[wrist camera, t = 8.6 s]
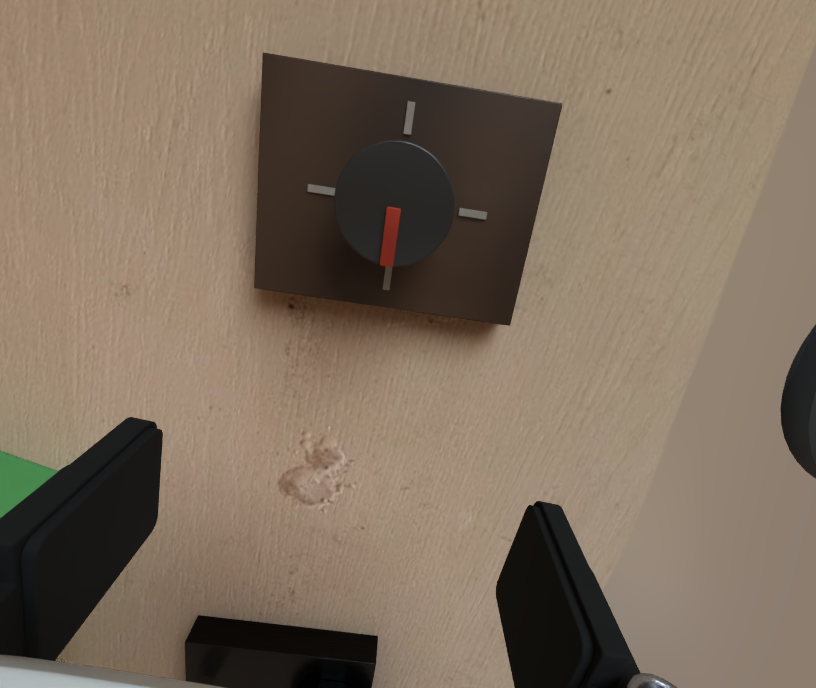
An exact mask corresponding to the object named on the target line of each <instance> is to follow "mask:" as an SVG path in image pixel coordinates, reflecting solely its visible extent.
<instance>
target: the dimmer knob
mask: <svg viewBox="0 0 816 688" xmlns="http://www.w3.org/2000/svg"><path fill="white" fill-rule="evenodd" d="M334 211H335V217H336V221H337V224H338V227H339V229H340V231H341V233H342V235H343V237H344V238H345V240H346V241H347V243H348V244H349V245H350V246H351V247H352V248H353V249H354V250H355V251H356V252H357V253H358V254H359V255H361V256H362V257H364V258H365V259H367V260H369V261H371V262H374V263H377V264H380V265H381V266H388V267H396V266H406V265H410V264H413V263H417V262H419V261H421V260H423V259H425V258H426V257H428V256H429V255H431V254H432V253H433V252H434V251H435V250H436V249H437V248H438V247H439V246H440V245H441V244H442V242H443V241H444V239H445V238H446V236H447V234H448V232H449V230H450V228H451V225H452V222H453V218H454V212H455V196H454V190H453V186H452V182H451V180H450V177H449V175H448V173H447V171H446V170H445V168H444V166H443V165H442V164H441V163H440V161H439V160H438V159H437V158H436V157H435V156H434V155H433V154H432V153H430V152H429V151H428V150H426V149H425V148H423V147H421V146H419V145H417V144H414V143H412V142H408V141H403V140H385V141H380V142H376V143H374V144H371V145H369V146H367V147H365V148H363V149H362V150H360V151H359V152H358V153H356V154H355V155H354V156H353V157H352V158H351V159H350V160H349V161H348V163H347V164H346V165H345V167H344V168H343V170H342V172H341V174H340V176H339V178H338V181H337V184H336V188H335V194H334Z"/></svg>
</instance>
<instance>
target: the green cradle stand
mask: <svg viewBox="0 0 816 688" xmlns="http://www.w3.org/2000/svg"><path fill="white" fill-rule="evenodd" d="M57 472H58V471H55V470H52V469H49V468H46V467H44V466H41V465H38V464H35V463H32V462H29V461H27V460H24V459H21V458H18V457H15V456H13V455H10V454H7V453H4V452H1V451H0V518H1V517H2V516H4V515H5V514H6V513H7V512H9V511H10V510H11V509H12V508H14V507H15V506H16V505H17V504H19V503H20V502H21V501H22V500H24V499H25V498H26V497H27V496H29V495H30V494H31V493H32V492H34V491H35V490H36V489H37V488H39V487H40V486H41V485H42V484H43V483H45V482H46V481H47V480H48V479H50V478H51V477H52V476H53V475H55V474H56V473H57Z"/></svg>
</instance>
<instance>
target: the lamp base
mask: <svg viewBox="0 0 816 688" xmlns="http://www.w3.org/2000/svg"><path fill="white" fill-rule="evenodd" d="M377 641H378V636H372V635H363V634H355V633H346V632H337V631H329V630H320V629H312V628H303V627H294V626H286V625H277V624H268V623H260V622H251V621H243V620H234V619H225V618H217V617H208V616H198V617H197V619H196V621H195V623H194V625H193V627H192V629H191V631H190V633H189V635H188V637H187V639H186V641H185V666H186V681H188V682H194V683H200V684H206V685H213V686H219V687H225V688H372V682H373V677H374V671H375V666H376V655H377Z"/></svg>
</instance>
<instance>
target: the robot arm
mask: <svg viewBox="0 0 816 688" xmlns="http://www.w3.org/2000/svg"><path fill="white" fill-rule="evenodd" d="M162 438H163V433H162V430H160V429H157V426H156V423H155V422H152V421H147V420H142V419H138V418H133V417H129V418H127V419H125V420H124V421H123V422H122V423H120V424H119V425H118V426H117V427H116V428H114V429H113V430H112V431H111V432H109V433H108V434H107V435H106V436H104V437H103V438H102V439H101V440H100V441H98V442H97V443H96V444H95V445H93V446H92V447H91V448H90V449H88V450H87V451H86V452H85V453H84V454H82V455H81V456H80V457H79V458H77V459H76V460H75V461H74V462H72V463H71V464H70V465H67V466H66V467H64V468H62V469H61V470H60V471H58V472H57V473H56V474H55V475H53V476H52V477H51V478H50V479H48V480H47V481H46V482H45V483H43V484H42V485H41V486H40V487H39V488H37V489H36V490H35V491H34V492H32V493H31V494H30V495H29V496H27V497H26V498H25V499H24V500H22V501H21V502H20V503H19V504H17V505H16V506H15V507H14V508H12V509H11V510H10V511H9V512H7V513H6V514H5V515H4V516H2V517H1V518H0V688H225V687H219V686H213V685H206V684H200V683H194V682H188V681H182V680H175V679H169V678H163V677H157V676H150V675H144V674H138V673H132V672H125V671H119V670H113V669H107V668H100V667H93V666H86V665H79V664H72V663H65V662H57V661H55V660H56V658H57V657H58V656H59V654H60V653H61V652H62V650H63V649H64V648H65V646H66V645H67V644H68V642H69V641H70V640H71V638H72V637H73V636H74V634H75V633H76V632H77V630H78V629H79V628H80V626H81V625H82V624H83V622H84V621H85V620H86V618H87V617H88V616H89V614H90V613H91V612H92V610H93V609H94V608H95V606H96V605H97V604H98V603H99V601H100V600H101V599H102V597H103V596H104V595H105V593H106V592H107V591H108V589H109V588H110V587H111V585H112V584H113V583H114V581H115V580H116V579H117V577H118V576H119V575H120V573H121V572H122V571H123V569H124V568H125V567H126V565H127V564H128V563H129V561H130V560H131V559H132V557H133V556H134V555H135V553H136V552H137V551H138V549H139V548H140V547H141V545H142V544H143V543H144V541H145V540H146V539H147V538H148V536H149V535H150V534H151V532H152V530H153V529H154V527H155V524H156V521H157V517H158V503H159V487H160V470H161V454H162ZM496 598H497V603H498V608H499V613H500V618H501V623H502V628H503V633H504V637H505V642H506V647H507V652H508V657H509V662H510V667H511V671H512V676H513V681H514V686H515V688H677V687H676V686H674V685H672V684H671V683H669V682H668V681H666V680H664V679H663V678H660V677H658V676H655V675H653V674H646V673H640V671H639V669H638V667H637V665H636V663H635V661H634V658H633V656H632V654H631V652H630V650H629V648H628V646H627V644H626V641H625V639H624V637H623V635H622V633H621V631H620V629H619V627H618V624H617V622H616V620H615V618H614V616H613V614H612V612H611V609H610V607H609V605H608V603H607V601H606V599H605V597H604V595H603V592H602V590H601V588H600V586H599V584H598V582H597V580H596V578H595V575H594V573H593V572H592V570H591V569H590V567H589V565H588V563H587V561H586V559H585V557H584V555H583V552H582V550H581V548H580V546H579V544H578V542H577V540H576V537H575V535H574V533H573V531H572V529H571V527H570V525H569V522H568V520H567V518H566V516H565V514H564V512H563V510H562V508H561V506H559V505H556V504H551V503H546V502H541V501H537V502H536V503H535V504H534V505H533V506H532V505H529V506H528V507H527V509H526V511H525V513H524V516H523V518H522V521H521V523H520V526H519V528H518V531H517V533H516V536H515V538H514V541H513V543H512V546H511V549H510V551H509V554H508V556H507V559H506V561H505V564H504V566H503V569H502V571H501V574H500V576H499V579H498V581H497V586H496Z"/></svg>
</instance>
